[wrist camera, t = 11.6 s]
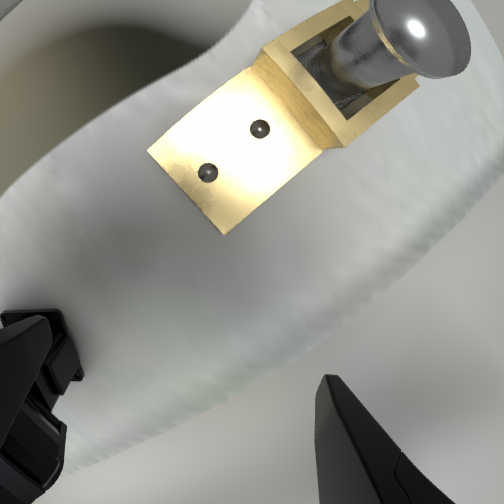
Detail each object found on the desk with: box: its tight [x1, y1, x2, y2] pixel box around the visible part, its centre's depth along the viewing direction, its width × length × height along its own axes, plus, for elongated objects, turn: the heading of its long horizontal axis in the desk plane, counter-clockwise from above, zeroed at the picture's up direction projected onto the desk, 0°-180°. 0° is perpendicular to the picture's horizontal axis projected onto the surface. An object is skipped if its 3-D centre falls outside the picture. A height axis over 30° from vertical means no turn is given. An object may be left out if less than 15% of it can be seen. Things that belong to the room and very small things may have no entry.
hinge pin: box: [303, 0, 471, 103], centre depth 12 cm, size 4×4×12 cm
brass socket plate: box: [147, 0, 419, 236], centre depth 16 cm, size 23×7×4 cm, turn 130°
